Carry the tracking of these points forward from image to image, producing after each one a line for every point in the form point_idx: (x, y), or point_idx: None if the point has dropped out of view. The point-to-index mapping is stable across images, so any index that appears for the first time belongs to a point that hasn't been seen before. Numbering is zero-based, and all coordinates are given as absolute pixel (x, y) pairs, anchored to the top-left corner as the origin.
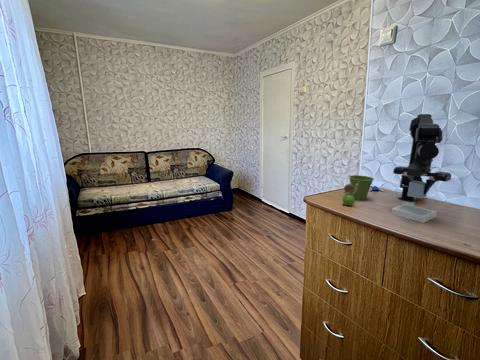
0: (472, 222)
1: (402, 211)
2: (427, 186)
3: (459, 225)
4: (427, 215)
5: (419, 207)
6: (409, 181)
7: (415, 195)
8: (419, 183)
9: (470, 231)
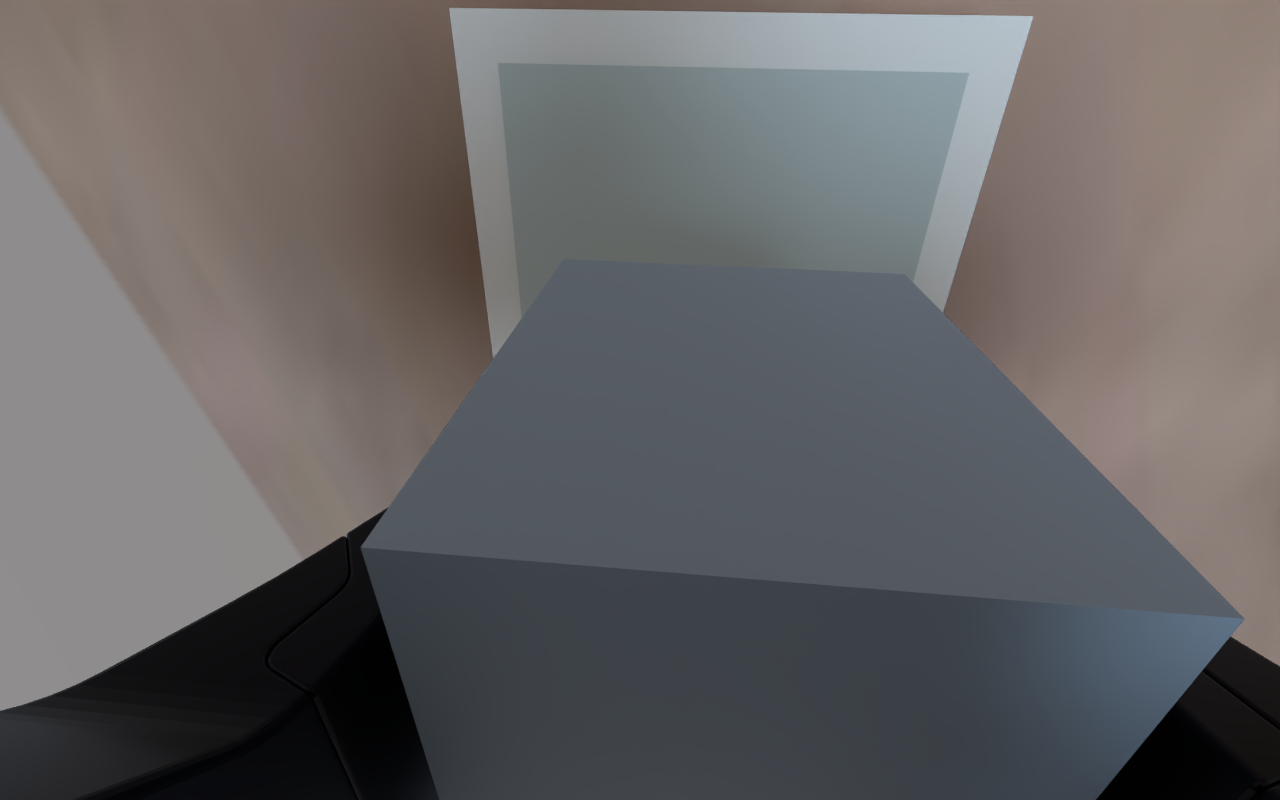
0: (292, 514)
1: (827, 13)
2: (320, 578)
3: (271, 331)
4: (472, 155)
5: None
6: (1222, 745)
7: (699, 283)
8: (622, 630)
9: (111, 216)
